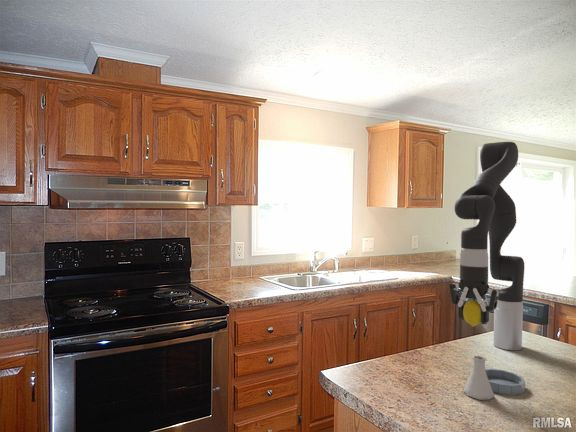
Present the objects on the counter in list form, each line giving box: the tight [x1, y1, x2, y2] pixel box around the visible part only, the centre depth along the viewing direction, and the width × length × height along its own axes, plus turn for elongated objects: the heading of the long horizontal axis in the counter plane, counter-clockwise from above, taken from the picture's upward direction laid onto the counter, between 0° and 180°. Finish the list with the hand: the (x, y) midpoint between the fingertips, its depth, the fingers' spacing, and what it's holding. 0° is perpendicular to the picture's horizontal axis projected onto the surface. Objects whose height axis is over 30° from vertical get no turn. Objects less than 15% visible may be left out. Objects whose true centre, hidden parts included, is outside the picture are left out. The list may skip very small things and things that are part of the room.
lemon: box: [463, 298, 482, 327], centre depth 119 cm, size 6×6×8 cm
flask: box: [462, 355, 495, 401], centre depth 109 cm, size 7×7×10 cm
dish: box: [485, 368, 526, 396], centre depth 115 cm, size 12×12×2 cm
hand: (473, 321), depth 119 cm, fingers closed on lemon, 5 cm apart
